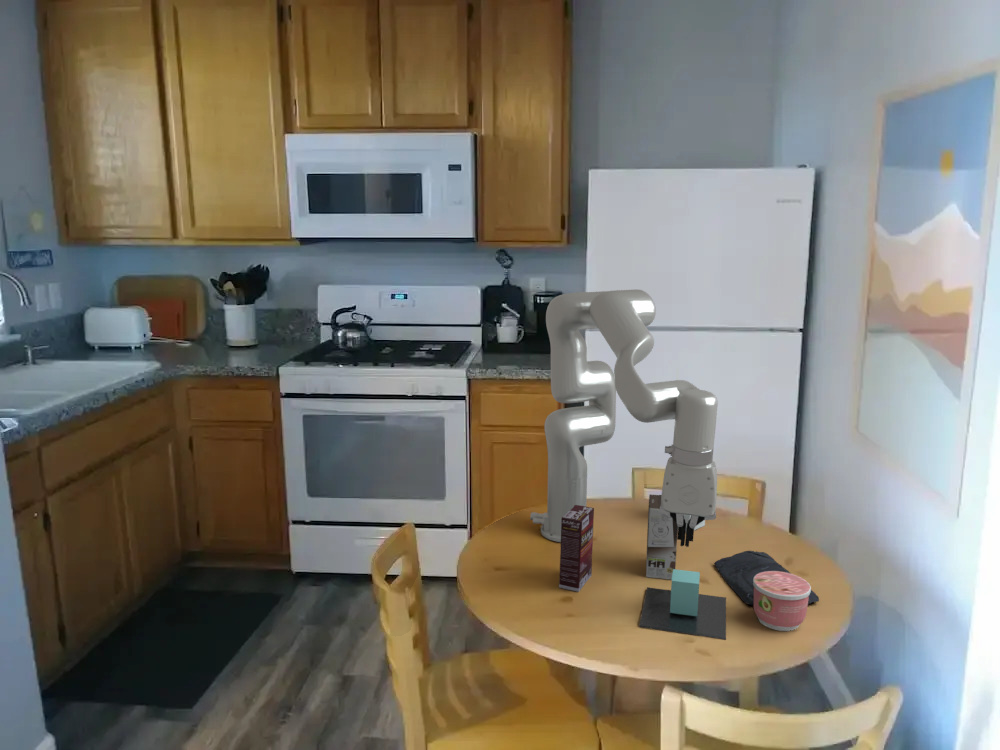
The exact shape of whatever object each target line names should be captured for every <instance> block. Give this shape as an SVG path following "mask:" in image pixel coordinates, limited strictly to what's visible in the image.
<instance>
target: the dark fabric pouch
mask: <svg viewBox="0 0 1000 750" xmlns="http://www.w3.org/2000/svg"><path fill="white" fill-rule="evenodd" d="M713 564H714V566H715V568H716V569H717V571H718V573H719V575H721V577H722V578H723V580H724V581H725V582H726V583H727V585H729V587H731V589H732V590H733V591H734V592H735V593H736V594H737V595H738V596H739V598H740V599H741V600H742V601H743V602H744V603H745V604H747V605H748V606H752V607H754V585H753V578H754V576H755V575H757V574H759V573H761V572H766V571H780V572H786V573H790V574H792V572H790V571H789V570H788V569H786V568H785V567H784V566H782V564H779V563H778V562H777V561H776V560H775V559H774V558H773V556H771V555H770V554H768V553H767V552H764V551H757V550H756V551H754V550H745V551H742V552H739V553H736V554H733V555H731V556H727V557H722V558H720V559H718V560H716V561H714V563H713ZM808 597H809V599H808V605H809V604H812V603H818V602H820V599H819V596H818V595H817V594H816V592H815V591H813V590H812V589H811V592H810V595H809V596H808Z"/></svg>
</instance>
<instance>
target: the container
mask: <svg viewBox="0 0 1000 750" xmlns="http://www.w3.org/2000/svg"><path fill="white" fill-rule="evenodd" d="M790 573H791V572H790ZM790 573H786V572H780V571H766V572H761V573H759V574H757V575H755V576H754V578H753V585H754V606H753V609H754V610H753V611H754V613H755V615H756V617H757V618H758V622H759V623H760V624H761V625H763V626H765V627H766V628H768V629H772V630H775V631H780V632H791V631H795V630H796V628H797V629H798V628H799V626H800V625H801V624H802V623H803V622H804V621H805V619H806V617H807V611H808V606H809V604H808V599H809V597H808V596H809V595H810V592H811V590H812V586H811V584H810V583H809V582H808V581H807V580H805V579H804V578H803V577H801V576H799V575H796V574H793V573H791V574H790ZM794 629H795V630H794ZM790 630H791V631H790Z"/></svg>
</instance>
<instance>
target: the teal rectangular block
mask: <svg viewBox="0 0 1000 750" xmlns="http://www.w3.org/2000/svg"><path fill="white" fill-rule="evenodd" d="M700 572H701V571H700ZM700 572H699V571H694V570H693V571H691V570H683V569H676V568H675V569H673V574H672V580H671V589H670V590H671V603H670V613H676V614H683V615H691V616H697V613H698V597H699V594H700V577H701V576H700V575H701V574H700Z"/></svg>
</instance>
